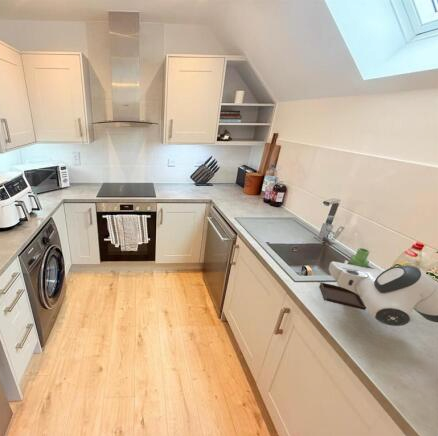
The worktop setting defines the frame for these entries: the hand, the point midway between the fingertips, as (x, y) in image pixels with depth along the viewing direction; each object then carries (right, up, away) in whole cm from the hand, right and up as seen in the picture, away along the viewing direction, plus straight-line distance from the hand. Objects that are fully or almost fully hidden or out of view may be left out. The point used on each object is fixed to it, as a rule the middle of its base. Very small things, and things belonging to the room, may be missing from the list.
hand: (356, 263), depth 92 cm
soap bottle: (0, -10, +3) cm, 10 cm away
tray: (0, -16, +7) cm, 18 cm away
